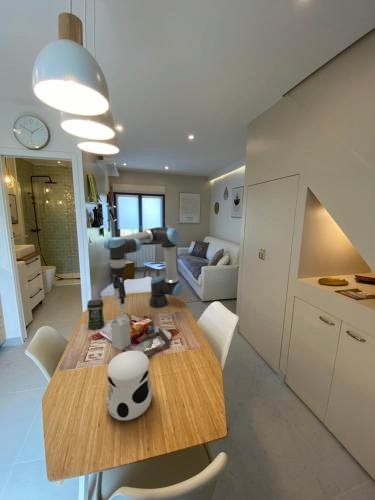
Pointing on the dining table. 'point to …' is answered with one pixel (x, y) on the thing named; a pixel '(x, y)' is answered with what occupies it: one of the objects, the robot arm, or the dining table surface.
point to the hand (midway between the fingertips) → (119, 304)
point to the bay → (149, 343)
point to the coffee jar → (95, 314)
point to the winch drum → (151, 328)
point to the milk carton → (121, 332)
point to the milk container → (128, 385)
